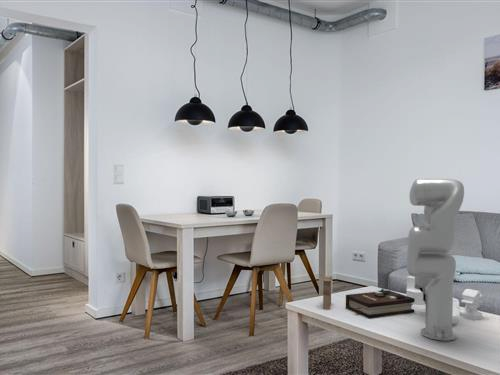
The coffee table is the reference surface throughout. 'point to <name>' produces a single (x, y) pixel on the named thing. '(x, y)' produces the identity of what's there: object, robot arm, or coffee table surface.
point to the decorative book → (379, 304)
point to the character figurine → (471, 304)
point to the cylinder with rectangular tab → (414, 291)
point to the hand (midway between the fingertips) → (426, 302)
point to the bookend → (327, 292)
